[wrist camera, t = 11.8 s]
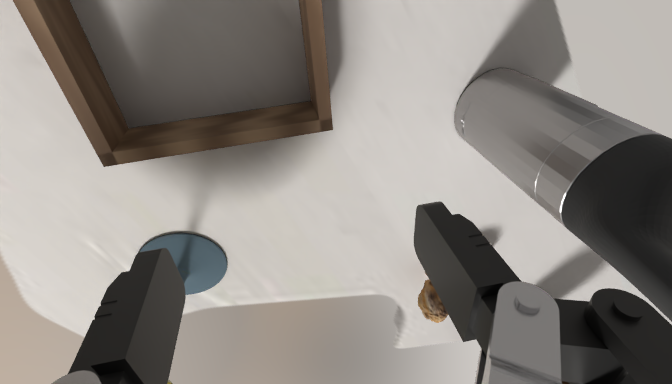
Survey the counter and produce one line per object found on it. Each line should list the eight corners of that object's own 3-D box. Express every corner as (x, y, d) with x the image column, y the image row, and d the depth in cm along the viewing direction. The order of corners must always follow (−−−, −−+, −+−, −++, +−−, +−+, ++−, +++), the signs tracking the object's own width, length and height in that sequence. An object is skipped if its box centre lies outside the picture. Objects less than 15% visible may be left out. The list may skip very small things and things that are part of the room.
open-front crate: (302, -101, 26) (311, -112, 22) (323, 110, 36) (332, 129, 32) (12, -80, 24) (-35, -87, 20) (121, 141, 34) (103, 166, 30)
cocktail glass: (256, 303, 51) (262, 528, 31) (121, 316, 47) (27, 586, 27) (253, 205, 41) (258, 443, 21) (82, 211, 37) (-113, 514, 17)
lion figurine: (403, 285, 56) (426, 333, 49) (403, 263, 53) (427, 311, 46) (487, 263, 58) (521, 307, 50) (491, 240, 55) (528, 284, 47)
